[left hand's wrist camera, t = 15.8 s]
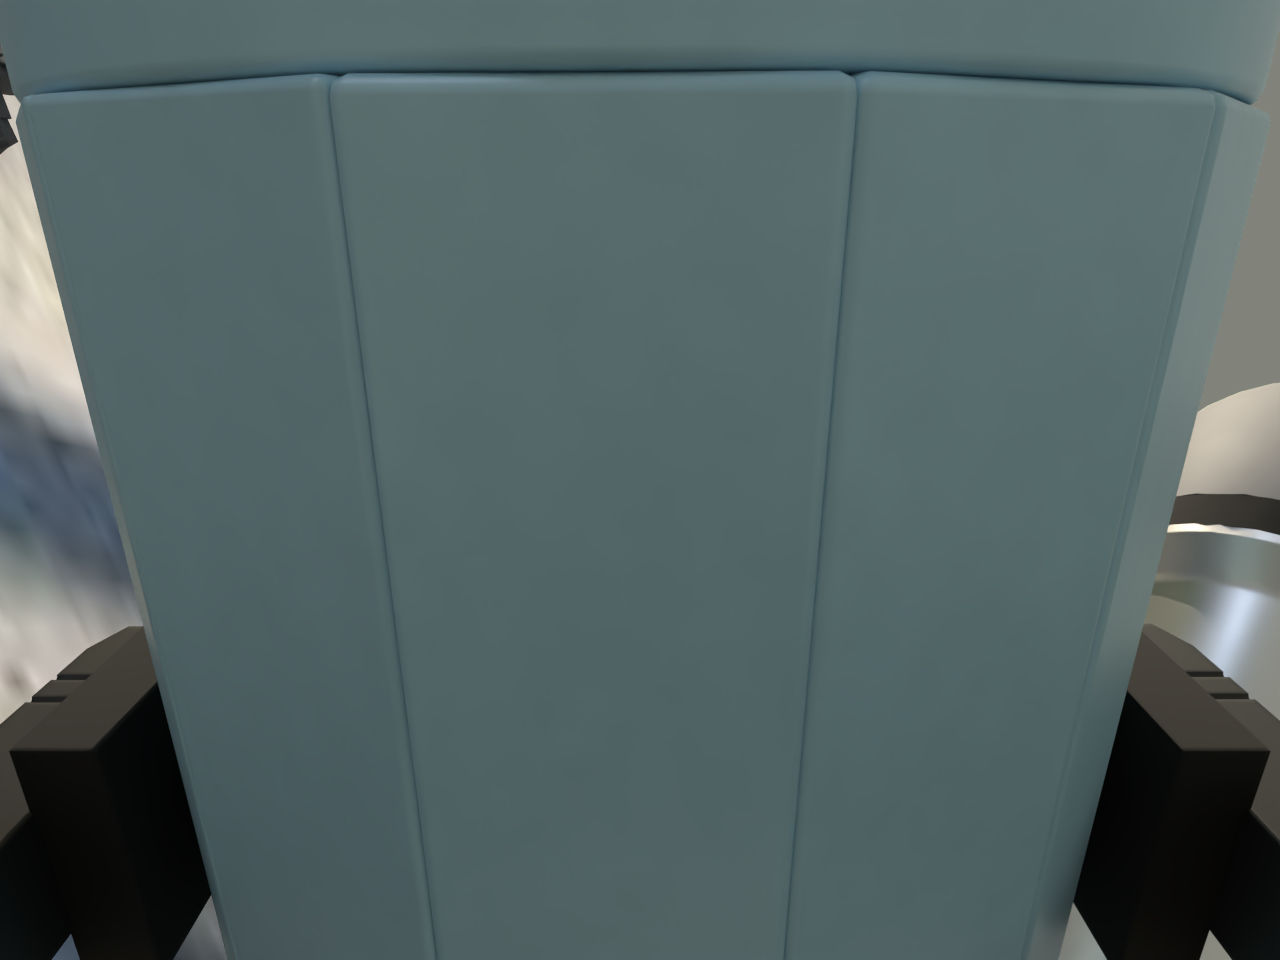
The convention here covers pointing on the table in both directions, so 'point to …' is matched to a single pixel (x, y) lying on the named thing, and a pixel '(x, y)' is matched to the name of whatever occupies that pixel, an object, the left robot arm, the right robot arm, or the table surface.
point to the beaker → (642, 444)
